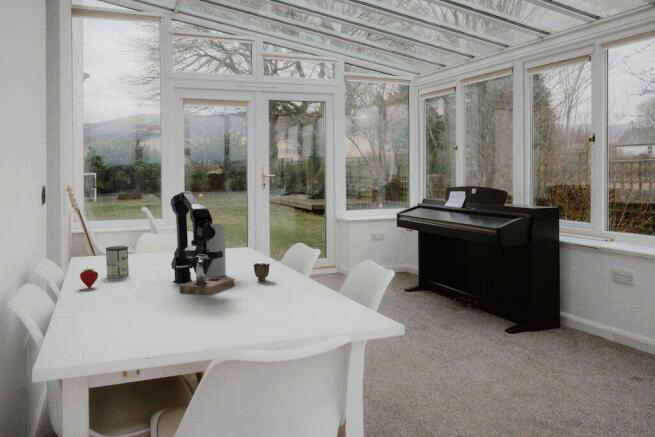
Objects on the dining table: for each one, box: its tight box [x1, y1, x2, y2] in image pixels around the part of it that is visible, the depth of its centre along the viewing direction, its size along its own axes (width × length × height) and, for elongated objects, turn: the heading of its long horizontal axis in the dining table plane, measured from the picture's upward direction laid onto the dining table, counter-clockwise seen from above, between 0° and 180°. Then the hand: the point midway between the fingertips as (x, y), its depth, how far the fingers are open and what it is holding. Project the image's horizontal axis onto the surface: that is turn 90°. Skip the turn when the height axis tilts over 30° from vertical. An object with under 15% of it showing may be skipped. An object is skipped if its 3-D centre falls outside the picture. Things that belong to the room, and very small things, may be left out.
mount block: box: [179, 277, 235, 296], centre depth 238 cm, size 14×21×3 cm, turn 160°
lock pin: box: [195, 261, 206, 285], centre depth 233 cm, size 4×4×10 cm
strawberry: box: [79, 265, 99, 288], centre depth 241 cm, size 6×8×10 cm
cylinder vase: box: [199, 223, 227, 278], centre depth 269 cm, size 12×12×25 cm
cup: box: [253, 262, 270, 282], centre depth 256 cm, size 8×7×8 cm
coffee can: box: [105, 245, 129, 278], centre depth 271 cm, size 10×10×14 cm
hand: (200, 273), depth 233 cm, fingers closed on lock pin, 4 cm apart
